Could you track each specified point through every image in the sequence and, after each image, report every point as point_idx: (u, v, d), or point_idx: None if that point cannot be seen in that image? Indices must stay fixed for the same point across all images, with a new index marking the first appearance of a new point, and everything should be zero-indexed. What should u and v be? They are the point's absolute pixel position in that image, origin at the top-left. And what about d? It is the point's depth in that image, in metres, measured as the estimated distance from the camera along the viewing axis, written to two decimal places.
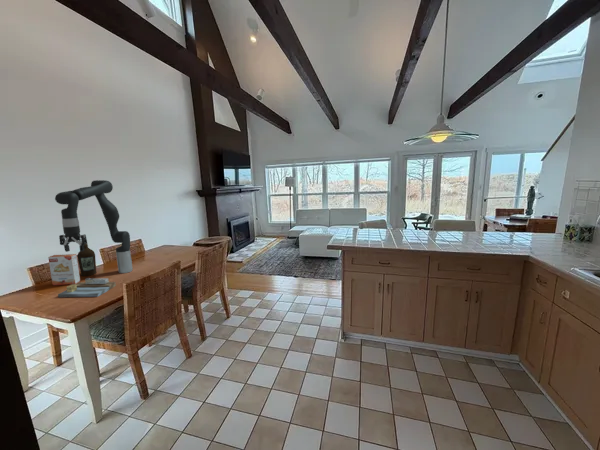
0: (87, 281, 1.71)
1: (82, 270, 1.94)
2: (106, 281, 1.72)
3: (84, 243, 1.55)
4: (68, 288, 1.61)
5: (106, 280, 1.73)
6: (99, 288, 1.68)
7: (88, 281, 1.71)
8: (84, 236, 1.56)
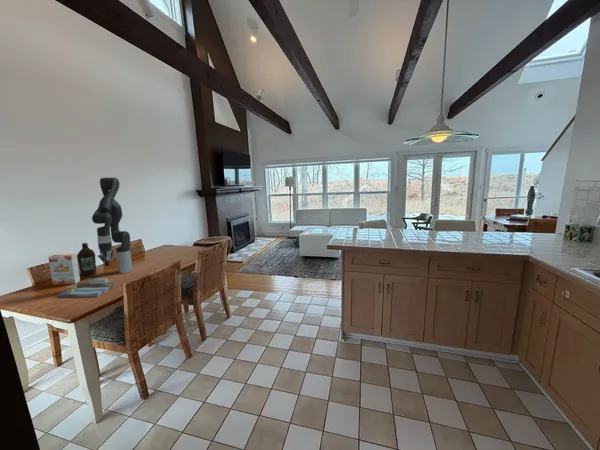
0: (87, 281, 1.71)
1: (82, 270, 1.94)
2: (106, 281, 1.72)
3: (111, 257, 1.81)
4: (68, 288, 1.61)
5: (106, 280, 1.73)
6: (99, 288, 1.68)
7: (88, 281, 1.71)
8: None
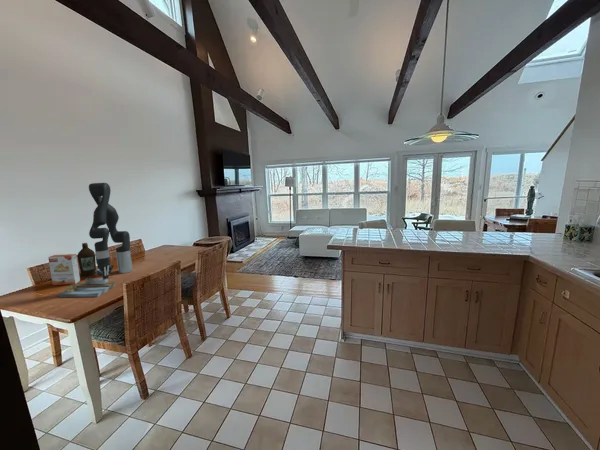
0: (87, 281, 1.71)
1: (82, 270, 1.94)
2: (106, 281, 1.72)
3: (110, 272, 1.78)
4: (68, 288, 1.61)
5: (106, 280, 1.72)
6: (99, 288, 1.68)
7: (87, 281, 1.71)
8: None
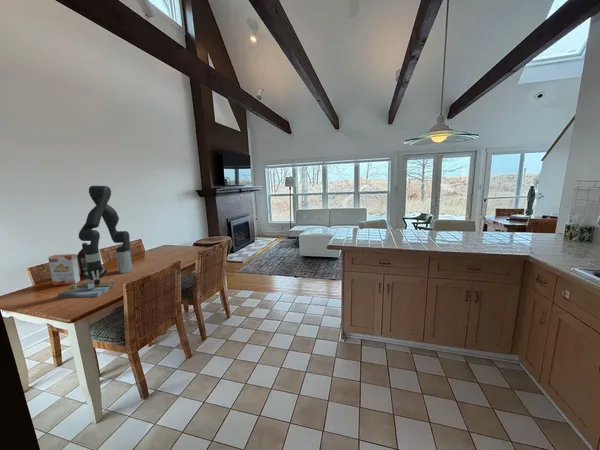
0: (85, 281, 1.71)
1: (82, 270, 1.94)
2: (90, 286, 1.64)
3: (102, 276, 1.69)
4: (68, 288, 1.61)
5: (90, 285, 1.64)
6: (99, 288, 1.68)
7: (85, 281, 1.70)
8: None
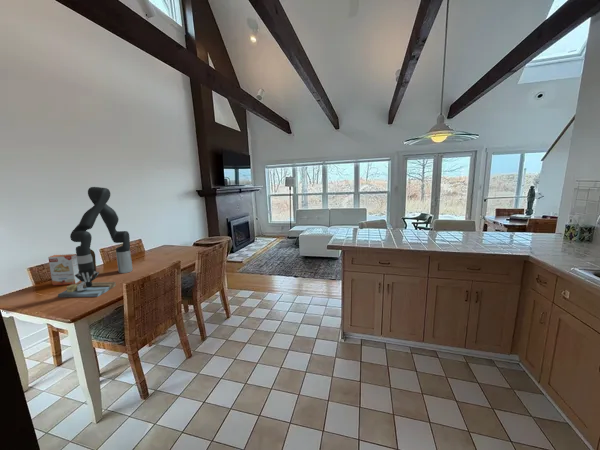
0: None
1: None
2: (79, 288, 1.61)
3: (93, 279, 1.64)
4: (68, 288, 1.61)
5: (79, 287, 1.61)
6: (99, 288, 1.68)
7: None
8: (97, 274, 1.65)
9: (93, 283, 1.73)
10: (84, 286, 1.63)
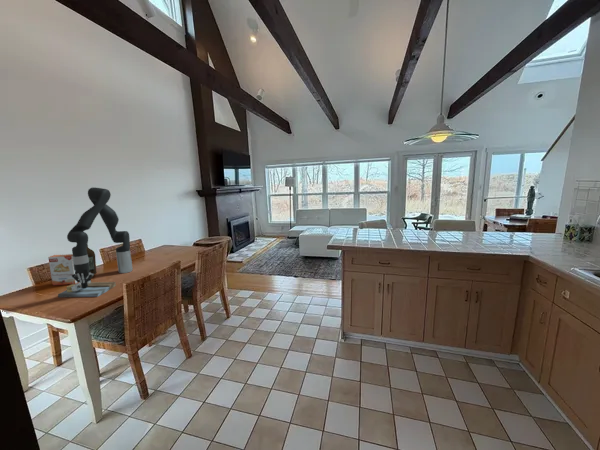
0: None
1: None
2: (73, 289, 1.60)
3: (87, 281, 1.62)
4: (68, 288, 1.61)
5: (73, 288, 1.60)
6: (99, 288, 1.68)
7: None
8: (92, 276, 1.63)
9: (93, 283, 1.73)
10: (79, 287, 1.62)
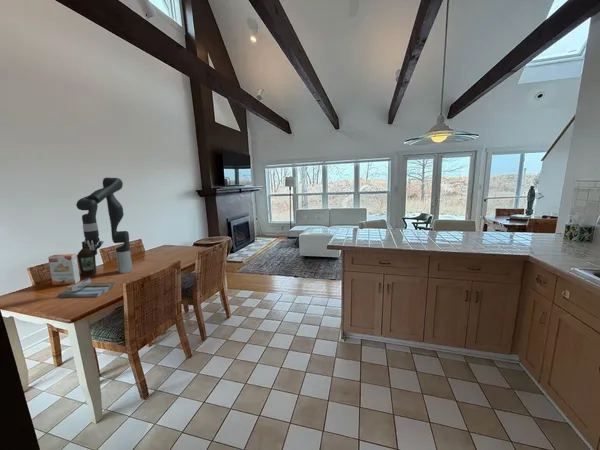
0: None
1: (82, 270, 1.94)
2: (73, 289, 1.60)
3: (97, 248, 1.68)
4: (68, 288, 1.61)
5: (73, 288, 1.60)
6: (99, 288, 1.68)
7: None
8: (101, 243, 1.69)
9: (93, 283, 1.73)
10: (79, 287, 1.62)
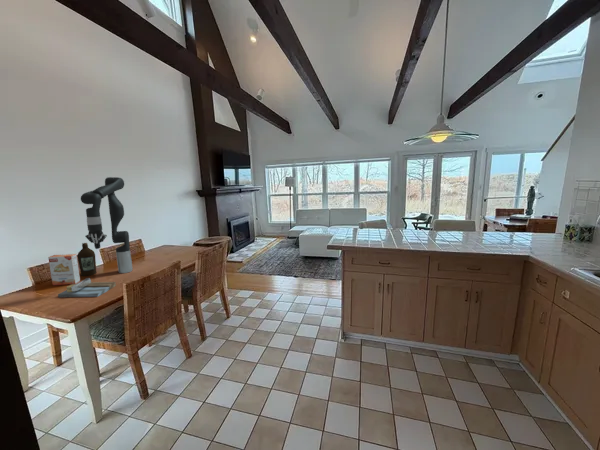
0: None
1: (82, 270, 1.94)
2: (73, 289, 1.60)
3: (100, 241, 1.70)
4: (68, 288, 1.61)
5: (73, 288, 1.60)
6: (99, 288, 1.68)
7: None
8: (105, 237, 1.71)
9: (93, 283, 1.73)
10: (79, 287, 1.62)
